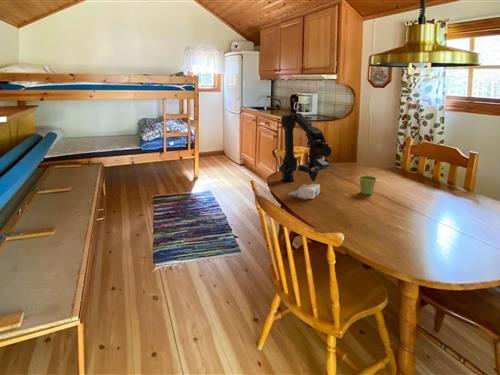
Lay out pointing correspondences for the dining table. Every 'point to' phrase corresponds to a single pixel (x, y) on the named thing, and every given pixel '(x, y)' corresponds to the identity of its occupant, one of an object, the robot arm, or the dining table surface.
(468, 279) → the dining table surface
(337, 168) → the dining table surface
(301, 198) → the mat
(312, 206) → the dining table surface
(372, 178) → the plant pot
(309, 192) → the ink box
